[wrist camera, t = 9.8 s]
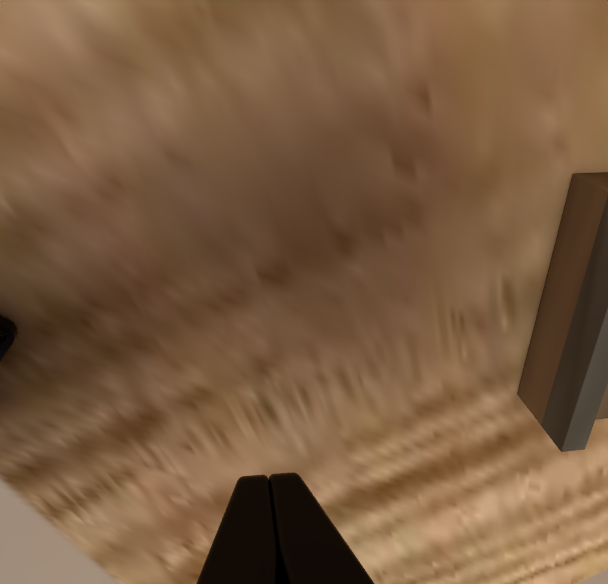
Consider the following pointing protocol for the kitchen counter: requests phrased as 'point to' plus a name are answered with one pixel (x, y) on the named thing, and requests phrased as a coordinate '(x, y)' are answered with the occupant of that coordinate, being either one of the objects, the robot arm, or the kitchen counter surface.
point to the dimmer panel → (573, 322)
